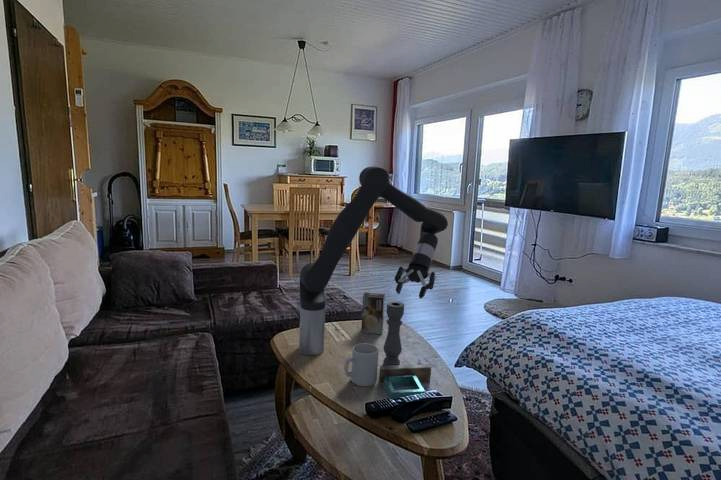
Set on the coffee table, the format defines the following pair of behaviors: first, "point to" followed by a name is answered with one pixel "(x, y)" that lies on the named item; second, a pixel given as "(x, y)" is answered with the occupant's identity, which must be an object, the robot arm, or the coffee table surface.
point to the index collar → (400, 381)
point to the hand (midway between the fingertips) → (408, 295)
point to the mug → (363, 364)
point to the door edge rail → (407, 371)
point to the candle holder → (393, 333)
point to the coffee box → (373, 313)
